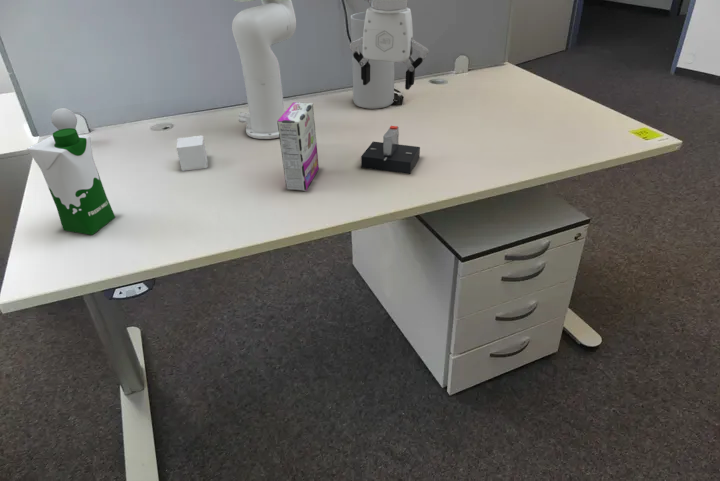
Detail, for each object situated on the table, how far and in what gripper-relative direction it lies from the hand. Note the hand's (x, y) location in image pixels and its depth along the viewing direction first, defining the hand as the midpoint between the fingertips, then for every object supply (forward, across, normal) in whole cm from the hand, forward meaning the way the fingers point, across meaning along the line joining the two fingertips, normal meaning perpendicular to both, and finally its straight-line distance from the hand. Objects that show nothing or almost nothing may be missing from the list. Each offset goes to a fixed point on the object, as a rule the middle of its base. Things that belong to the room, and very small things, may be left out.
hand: (387, 85), depth 115 cm
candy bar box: (+19, -16, -14) cm, 29 cm away
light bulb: (+21, -84, -12) cm, 87 cm away
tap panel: (+19, +1, 0) cm, 19 cm away
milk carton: (+20, -50, -44) cm, 69 cm away
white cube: (+20, -45, -14) cm, 51 cm away
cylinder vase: (+20, -16, +39) cm, 46 cm away
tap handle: (+16, +1, 0) cm, 16 cm away
